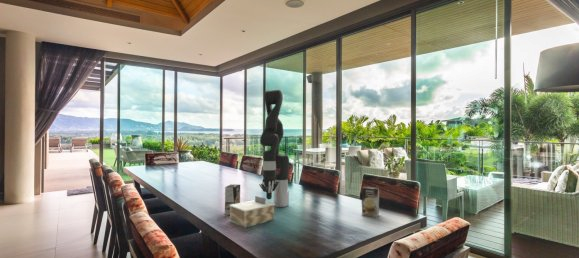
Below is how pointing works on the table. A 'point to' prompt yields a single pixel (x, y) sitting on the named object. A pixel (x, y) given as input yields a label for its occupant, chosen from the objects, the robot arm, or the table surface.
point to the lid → (252, 204)
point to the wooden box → (251, 216)
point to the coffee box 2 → (370, 201)
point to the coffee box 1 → (231, 196)
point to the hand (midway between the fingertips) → (269, 199)
